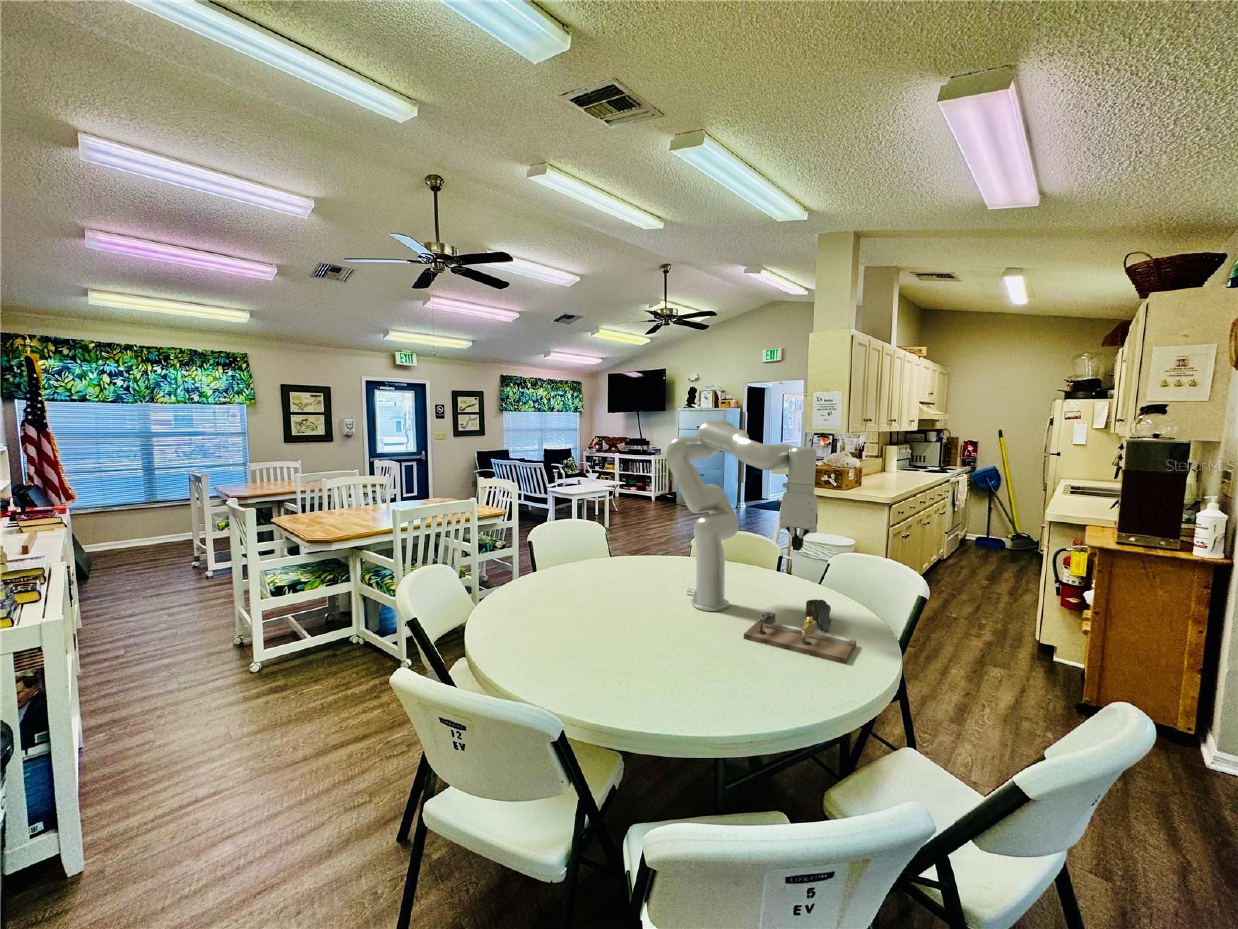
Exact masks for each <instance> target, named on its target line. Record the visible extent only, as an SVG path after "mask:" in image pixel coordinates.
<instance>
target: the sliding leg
mask: <svg viewBox="0 0 1238 929" xmlns="http://www.w3.org/2000/svg"><path fill="white" fill-rule="evenodd" d="M801 628H802V641H805V632H810V633H814V632H817V621H814V620H813V617H806V618H805V620H804V621H803V622H802V627H801Z"/></svg>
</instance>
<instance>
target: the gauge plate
mask: <svg viewBox="0 0 1238 929" xmlns="http://www.w3.org/2000/svg"><path fill="white" fill-rule="evenodd" d="M802 628H803V627H796V626H793V625H787V624H783V623H780V622H779V623H778V622H776V613H775V612H770V611H766V610H765V611H764V612H763V613H762V614H761V618H760V619H758V620H757V621H756V622H755V623H754V624H753V625H752V626H750V627H749V628H748V629H747V630H746V631H745V632H744V633H743V639H744V640H748V641H752V642H755V643H760V644H763V643H765V644H764V645H767V644H769V645H768V646H771V645H772V647H775V646H776V648H779V647H781V648H780V649H783V648H784V649H783V650H788V651H791V650H792V652H795V651H796V652H795V653H799V652H800V653H799V654H804V655H807V654H809V655H808V656H812V657H815V658H819V657H821V658H820V659H824V660H828V661H832V662H836V663H841V664H844V665H846V664H847V663H848V661H849V659H850V658H851V656H852V654H853V653H854V650H855V649H856V647H857V640H854V639H852V638H846V637H841V636H838V635H837V636H836V635H833V634H829V633H825V632H819V631H815V632H814V633H810V632H805V641H802Z"/></svg>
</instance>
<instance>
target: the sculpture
mask: <svg viewBox="0 0 1238 929" xmlns="http://www.w3.org/2000/svg"><path fill="white" fill-rule="evenodd" d="M831 611H832V607H831V605H830V604H828V603H827V601H825V600H823V599H809V600H808V599H807V601H806V602H805V616H807V617H813V620H814V621H817V623H816V625H818V627H819V628H820V630H821V631H822V632H823V631H824V632H823V633H828V632H829V630H830V626H831V625H832V623H833V622H832V621H833V620H832V618H831V617H830V614H831ZM807 617H806V618H807Z"/></svg>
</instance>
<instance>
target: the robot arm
mask: <svg viewBox="0 0 1238 929" xmlns="http://www.w3.org/2000/svg"><path fill="white" fill-rule="evenodd" d="M720 451H722V452H724V453H727V454H730V455H732V456H734V457H735V458H736V459H738V460H739V461H740V462H741V463H743V464H745V465H748V466H751V467H753V468H756V469H759V470H762V471H774V470H775V471H776V470H784V469H787V481H786V482H785V483H784V482H783V483H782V488H783V489H784V488H785V489H786V491H784V492H783V495H782V499H781V504H780V509H779V510H780V511H779V516H778V517H779V518H778V519H779V520H778V521H779V528H780V529H783V530H786V531H787V533H788V534H789V535H790V537H791V543H790V544H791V545H790V546H791V547H792V551H796V552H799V551H801V550H802V548H803V547H804V537H805V536H806V535H808V534H815V533H817V532H818V527H817V526H818V520H819V519H818V518H819V511H818V510H819V509H818V498H817V494H815V487H816V485H815V484H816V483H815V482H816V471H817V470H816V469H817V468H816V467H817V457H818V456H817V450H816V449H815V448H814V447H810V446H794V445H791V444H786V443H784V444H783V443H780V444H765V443H761V442H758V441H756V440H752V439H750V437H749V434H748V433H747V431H745V430H744V429H740V428H737V427H736V426H735V425H734V424H733V423H732V422H730V421H727V420H709V421H706V422H703V423H702V424H701V425H700V426H699V428H698V431H697V435H687V436H685V435H684V436H679V437H675V438H674V439H673V440H671V442H669V444H668V446H667V449H666V453H665V454H666V455H665V457H666V458H665V459H666V463H667V466H668V468H669V470H670V472H671V474H672V476H673V479H674V480H675V481H676V484H677V486H678V489H679V491H680V493H681V495H682V497H683V500H684V502H685V505H686V506H687V509H688V510H689V511H690V512H691V513H693V514H702V513H709V514H705V515H702V516H701V517H699V518H697V520H696V521H695V523H694V525H693V536H694V540H695V548H696V550H695V551H696V559H695V560H696V574H695V575H696V576H695V577H696V585H695V586H696V588H695V589H693V588H690V587H689V588H687V590H686V596H688V597H692V598H693V599H692V601H691V605H692V607H694V608H696V609H698V610H701V611H705V612H706V611H707V612H719V611H723V610H727V609H728V608H729V606H730V602H729V601H728V600H727V599H726V598H725V576H726V575H725V571H726V570H725V565H726V564H725V563H726V562H725V558H726V557H725V551H724V548H723V544H722V542H721V541H724V540H726V539H730V538H732V537H734V536H735V535H736V534H737V532H739V521H738V517H737V516H736V512H735V511H734V509H733V507H732V503H731V502H730V501H729V498H728V496H727V494H726V492H725V490H723V489H722V487H721V486H719V485H717V484H714V483H710V484H709V483H708V484H705V482H704V481H703V479H702V476H701V474H700V473H699V470H698V469H697V468H696V467H695V466H694V465H693V464H692V463H691V462H690V461H694V460H696V461H697V460H704V459H707V458H709V457H711V456H713V455H714V454H716V453H718V452H720ZM798 529H799V532H798Z"/></svg>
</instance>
